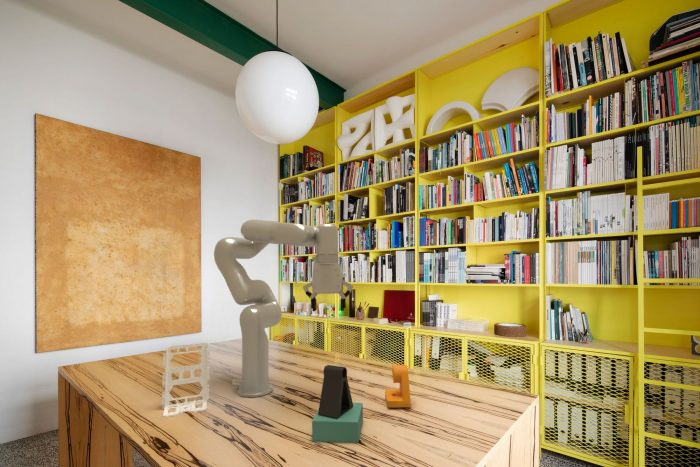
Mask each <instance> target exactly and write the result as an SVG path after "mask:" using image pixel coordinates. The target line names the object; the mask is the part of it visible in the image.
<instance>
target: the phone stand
mask: <svg viewBox="0 0 700 467" xmlns="http://www.w3.org/2000/svg"><path fill="white" fill-rule="evenodd" d="M353 403H354V402H353V399H352V394H351V389H350V385H349V379H348V369H347V367H345V366H338V365H331V364H327V365H325V366H324V368H323V382H322V386H321V393H320V399H319V406H318V409H319V411H318V410H317V411H318V415H321V416H326V417H330V418H335V419H338V418H339V417H341V416H342V415H343V414H345V413H346V412H348V411H349V410H350V409H352V408H353Z"/></svg>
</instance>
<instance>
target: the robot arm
mask: <svg viewBox="0 0 700 467" xmlns="http://www.w3.org/2000/svg"><path fill="white" fill-rule="evenodd" d="M338 230H339V229H338V226H337V225H336V224H332V223H323V224H318V225H317V226H313V225H308V224H303V223H302V224H301V223H294V222H280V221H272V220H262V219H249V220H246V221H245V222H243V223H242V225H241V226H240V233H241V236H242V237H243V238H242V237H230V236H229V237H223V238H221V239H220V240H218V241H217V242H216V244H215V245H214V246H215V247H214V252H213V257H214V262H215V265H216V267H217V269H218V270H219V271H220V273H221V275H222V277H223V279H224V281H225V283H226V286H227V287H228V290H229V292H230V295H231V297H232V298H233V300H234V302H235V303H236V304H237V305H238V306H246V307H244V308H243V309H242V311H241V312H240V314H239V326H240V333H241V344H242V345H241V348H242V349H241V351H242V352H241V353H242V354H241V355H242V356H241V359H242V361H241V364H242V365H241V367H242V368H241V379H238V378H233V379H232V382H231V384H232V387H238V389H237V394H238V396H239V397H243V398H257V397H263V396H266V395H267V394H270V393H271V392H272V391H273V390H274V386H273V385H272V384H271V383H269V382H270V381H269V378H270V377H269V376H270V375H269V374H270V372H269V369H270V368H269V365H270V364H269V359H270V358H269V356H270V354H269V352H270V351H269V349H270V348H269V337H268V335H267V332H266V330H265V329H268V328H271V327H275V326H277V325H278V324H279V323H280V322H281V320H282V317H283V316H282V309H281V306H280V304H279V302H278V300H277V298H276V296H275V294H274V293H273V291H272V289H271V286H270V285H269V284H268V283H267V282H265V281H264V280H262V279H251V278H250V276H249V275H248V272H247V270H246V269H245V267H244V266H243V265H242V264H241V263H240V262H239V261H238V259H239V260H249V259H253V258H255V257H256V256H257V255H258V254H259V253H260V252H262V251H263V250H264V249H265V248H266V247H267V246H268V245H269V244H273V245H278V244H280V245H288V246H296V247H297V246H298V247H306V248H307V247H308V248H314V247H315V249H316V255H315V256H313V257H312V260H311V261H312V262H315V264H314V265H313V271H312V281H310V282H309V283H307V284H305V285H303V287H302V289H303V291H304V293H305V295H306V296H307V297H308V298H309V299H310V309H312V312H316V311H317V306H318V305H317V304H318V303H317V298H316V297H317V296H318V294H319V295H320V294H321V295H323V294H324V295H325V294H326V295H329V294H332V295H333V294H338V295H339V297H340V300H339V301H340V302H339V303H340V311H341V312H344V311H345V309H346V307H347V306H346V305H347V304H346V299H347V297H348V296H349V295H350V294H351V293H352V290H353V289H354V285H353V284H351V283H349V282H348V281H345V280H343V270H342V265H341V263H339V233H338V232H339V231H338ZM344 286H345V287H347V290H346V291H345V292H344ZM310 287H311V291H312V292H311V291H310V289H309V288H310ZM248 305H249V306H248Z"/></svg>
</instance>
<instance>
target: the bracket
mask: <svg viewBox="0 0 700 467" xmlns="http://www.w3.org/2000/svg"><path fill="white" fill-rule="evenodd" d="M391 372H392V381H393V384H394V383H395V384H399V388H397V389H396V388H393V389H391V388H390V389H388V388H387V389H385V390H384V394H385V395H384V396H385V403H386V407H387V408H411V407H412V406H411V405H412V404H411V389H410V379H409V369H408V365H407V364H399V365H398V364H397V365H396V364H395V365H392V371H391Z"/></svg>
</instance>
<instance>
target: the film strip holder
mask: <svg viewBox="0 0 700 467" xmlns="http://www.w3.org/2000/svg"><path fill="white" fill-rule="evenodd" d="M208 343H209V342H198V343H189V344H188V343H187V344H179V345H170V346H166V347H165V353H163V356H162V357H163V358H162V369H164V372H162V384H161V385H162V386H161V387H162V388H164V391H161V410H163V412H162V418H169V417H176V416H178V415H182V413H186V412H188V413H200V412H204V411H207V410H208V403H209V402H210V384H208V381H210V379H211V378H210V377H211V375H210V371H211V366H208V363H210V362H211V349H210V348H208V347H209V346H208V345H209V344H208ZM197 347H202V349H197ZM190 348H194V349H195V350H189V349H190ZM180 349H185V351H180ZM172 350H177V352H172ZM191 353H192V354H193V353H200V354H201V356H202V360H201V361H200V364H193V365H185V366H176V367H174V366H173V364H172V363H171V361H172V359H173V357H174V356H176V355H184V354H191ZM196 370H197V371H199V370H200V372H201V374H200V376H195V371H196ZM185 372H189V373H190V376H189V378H188V377H187V378H184V373H185ZM173 373H174V374H175V373H178V376H179V377H178V379H175V380H174V379H173V378H172V376H173ZM193 383H199V384H200V385H201V387H202V388H201V391H200V393H199V394H195V395H193V394H192V395H188V396H187V395H186V396H181V397H173V396H172V394H171V393H170V392H171V390H172V388H173V387H174V386H179V385H186V384H193ZM198 397H201V398H202V399H198V400H196V398H198ZM191 398H193V400H191V401H188V399H191ZM179 400H184V402H179ZM171 401H172V402H173V401H175V403H173V404H172V403H171ZM197 405H198V406H199V405H202V406H199V407H197ZM174 409H175V411H170V410H174ZM169 411H170V412H169Z"/></svg>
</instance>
